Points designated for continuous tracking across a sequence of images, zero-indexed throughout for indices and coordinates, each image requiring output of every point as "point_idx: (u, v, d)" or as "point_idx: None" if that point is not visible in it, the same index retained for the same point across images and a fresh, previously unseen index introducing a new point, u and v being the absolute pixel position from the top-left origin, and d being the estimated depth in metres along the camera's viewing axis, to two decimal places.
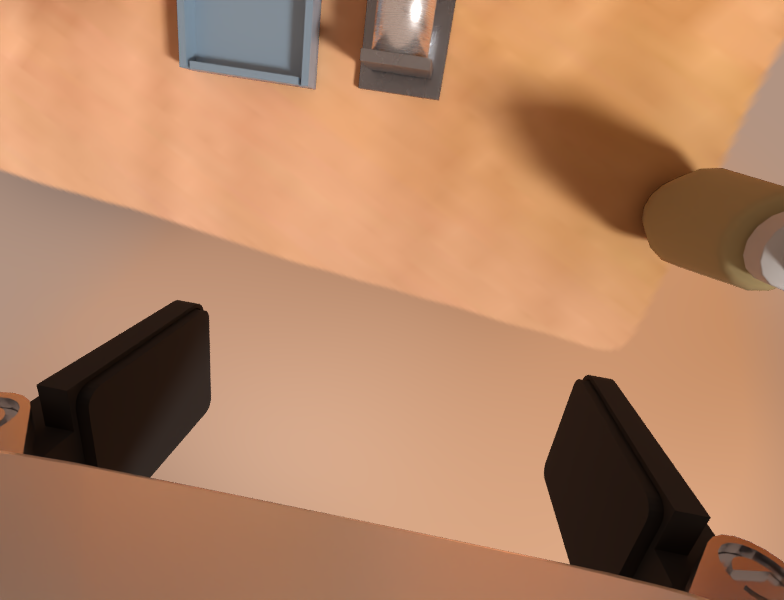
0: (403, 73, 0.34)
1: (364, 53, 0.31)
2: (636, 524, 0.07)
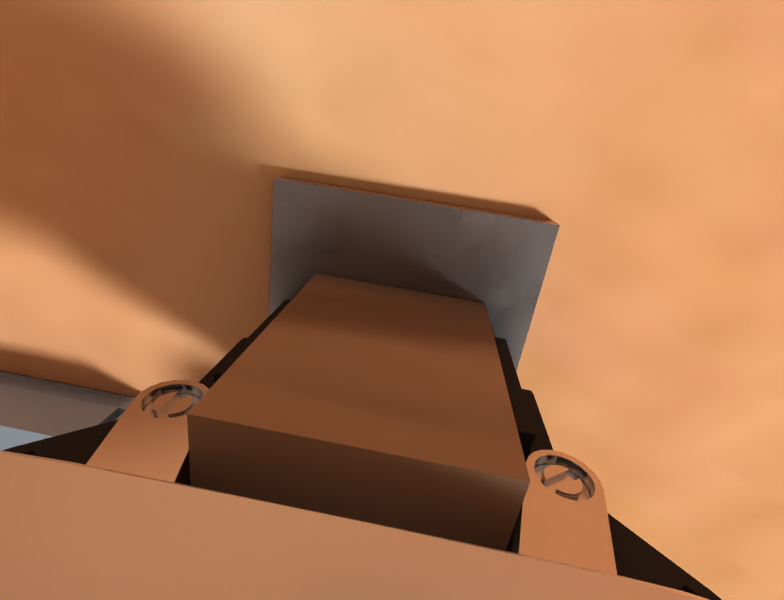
0: None
1: None
2: None
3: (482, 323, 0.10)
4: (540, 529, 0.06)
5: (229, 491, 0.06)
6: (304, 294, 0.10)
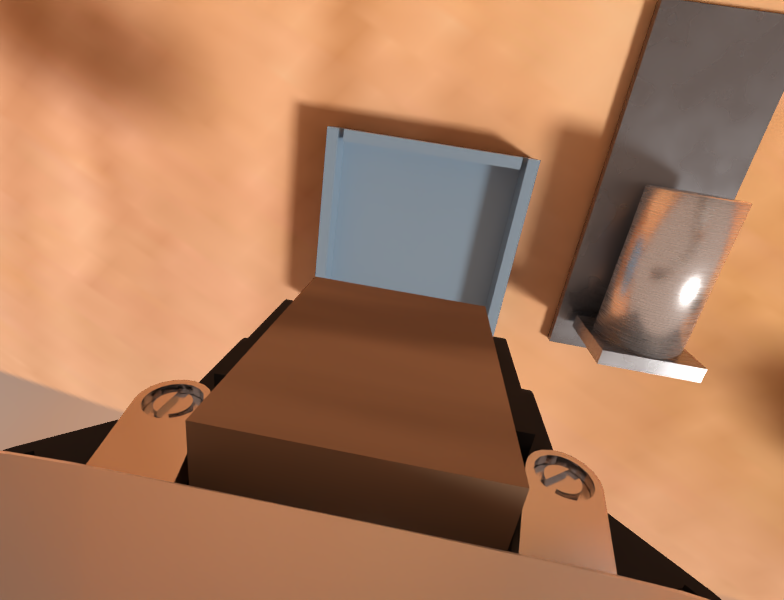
0: None
1: (606, 356, 0.21)
2: None
3: (482, 327, 0.10)
4: (540, 529, 0.06)
5: None
6: (303, 298, 0.10)
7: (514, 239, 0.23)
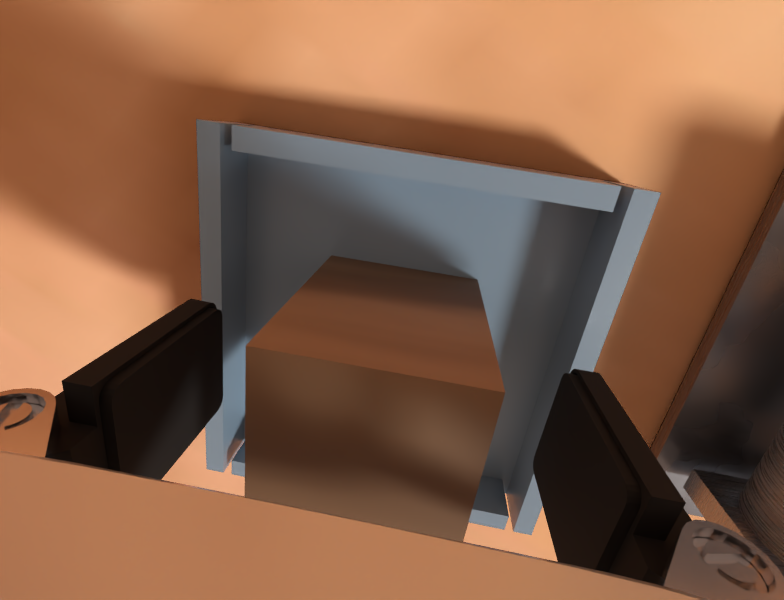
0: None
1: None
2: (615, 510, 0.07)
3: (474, 293, 0.11)
4: None
5: (275, 409, 0.08)
6: (323, 270, 0.11)
7: (591, 350, 0.11)
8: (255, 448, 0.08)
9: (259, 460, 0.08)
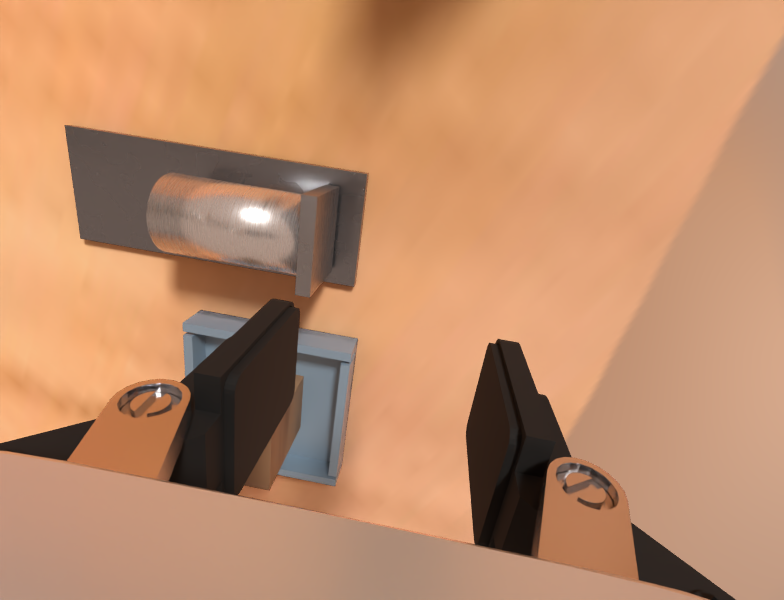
0: (332, 228, 0.24)
1: (301, 290, 0.22)
2: (503, 453, 0.08)
3: None
4: (560, 536, 0.06)
5: None
6: None
7: None
8: None
9: None
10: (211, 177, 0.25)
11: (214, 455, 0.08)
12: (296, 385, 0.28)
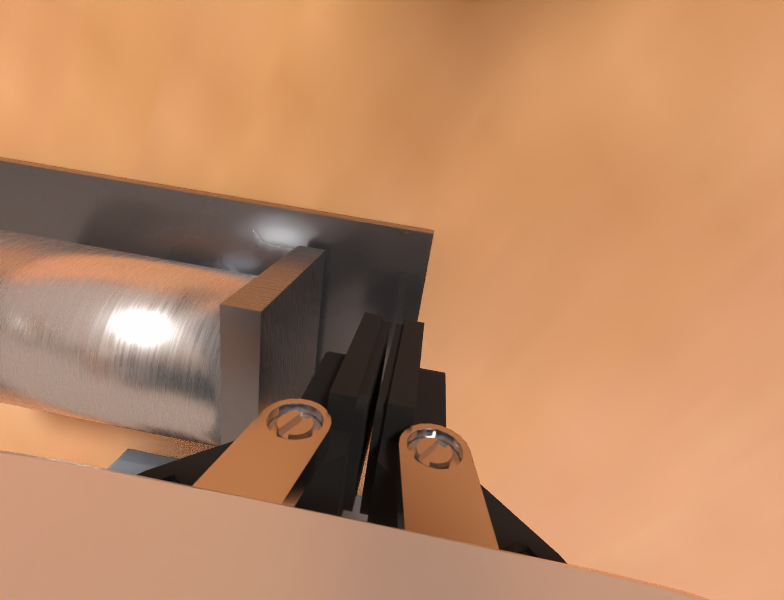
0: (311, 332, 0.12)
1: None
2: None
3: None
4: (422, 509, 0.06)
5: None
6: None
7: None
8: None
9: None
10: (126, 235, 0.13)
11: (344, 474, 0.08)
12: None
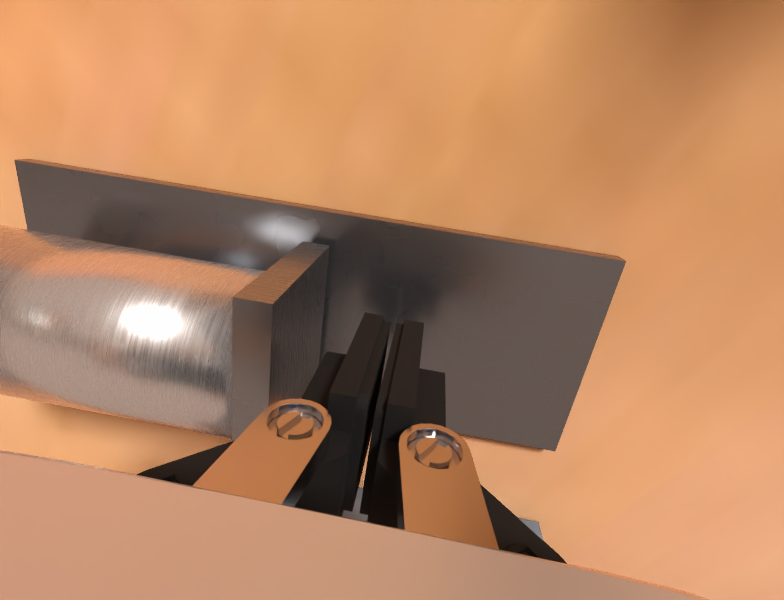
0: (316, 326, 0.12)
1: None
2: None
3: None
4: (421, 509, 0.06)
5: None
6: None
7: None
8: None
9: None
10: None
11: (344, 474, 0.08)
12: None
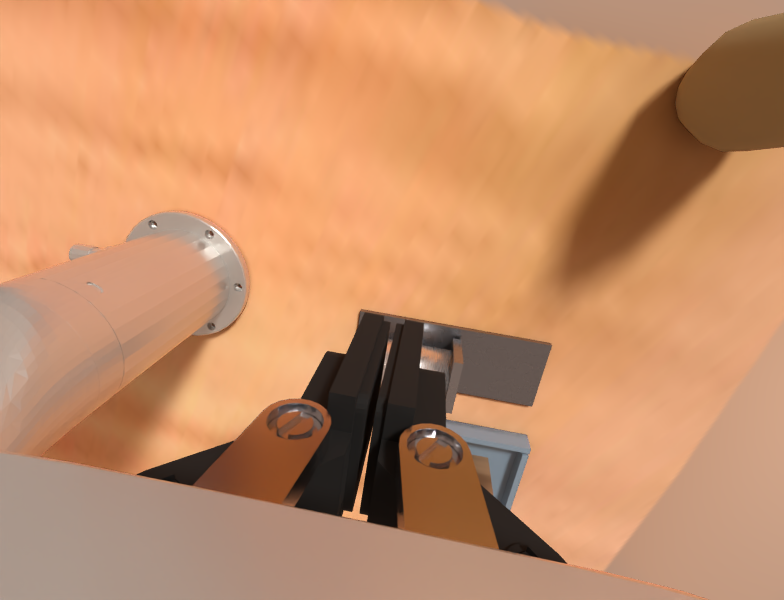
0: None
1: (446, 410, 0.37)
2: None
3: None
4: (421, 509, 0.06)
5: None
6: None
7: None
8: None
9: None
10: (450, 343, 0.41)
11: (344, 474, 0.08)
12: (488, 465, 0.44)
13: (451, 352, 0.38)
